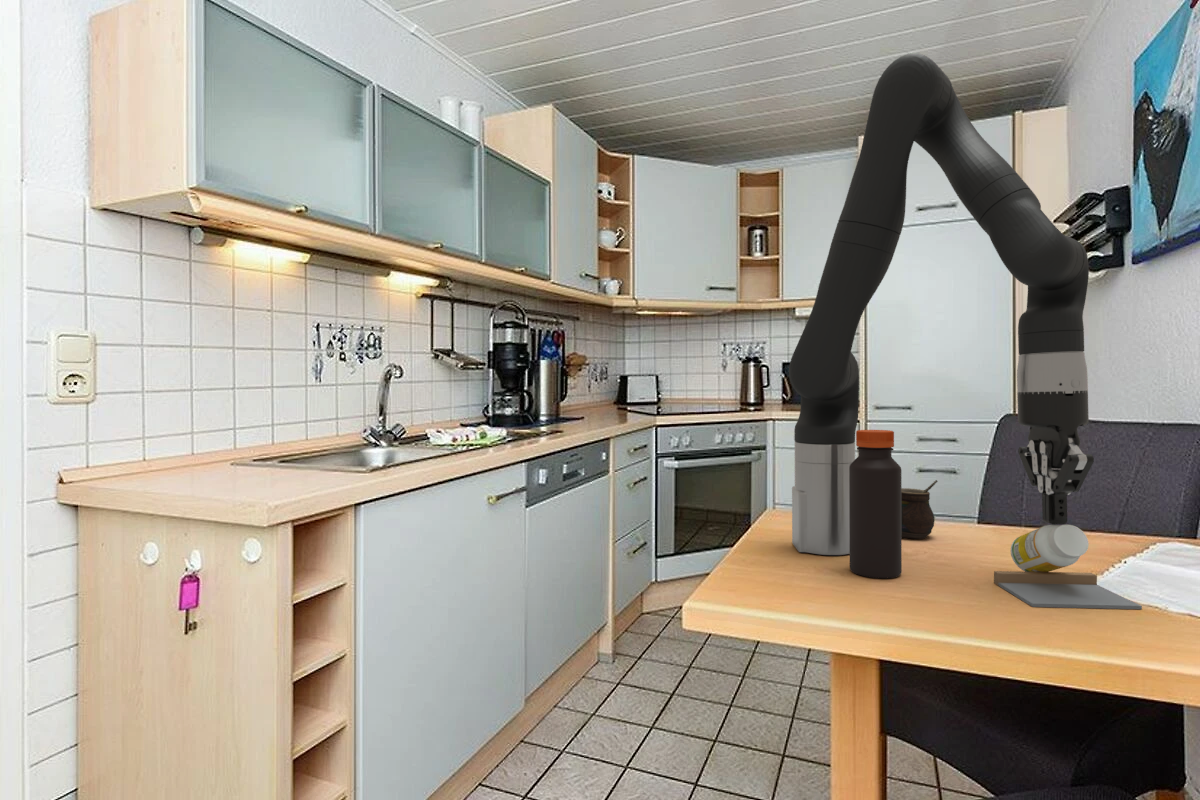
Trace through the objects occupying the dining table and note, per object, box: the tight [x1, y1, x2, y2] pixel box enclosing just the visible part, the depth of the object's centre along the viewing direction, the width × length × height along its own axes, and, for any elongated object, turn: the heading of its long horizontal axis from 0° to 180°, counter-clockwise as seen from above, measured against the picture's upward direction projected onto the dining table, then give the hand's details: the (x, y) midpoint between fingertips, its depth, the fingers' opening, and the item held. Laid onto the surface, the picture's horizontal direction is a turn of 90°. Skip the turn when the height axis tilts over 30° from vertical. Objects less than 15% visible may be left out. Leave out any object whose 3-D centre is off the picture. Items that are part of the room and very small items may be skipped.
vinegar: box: [849, 429, 903, 580], centre depth 93 cm, size 7×7×20 cm
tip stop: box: [993, 570, 1143, 610], centre depth 82 cm, size 12×9×2 cm
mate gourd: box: [901, 479, 938, 540], centre depth 115 cm, size 7×8×10 cm
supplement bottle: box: [1010, 524, 1090, 572], centre depth 86 cm, size 5×5×10 cm
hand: (1055, 522), depth 85 cm, fingers closed
